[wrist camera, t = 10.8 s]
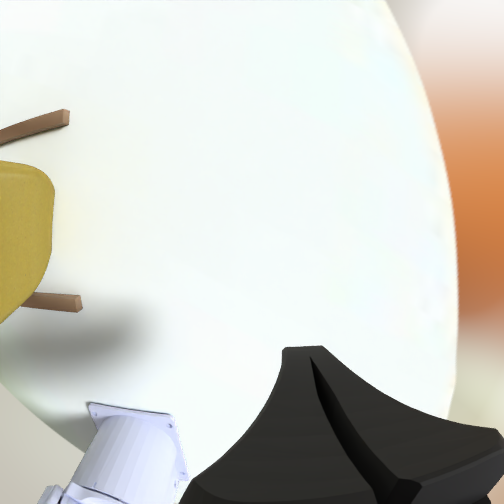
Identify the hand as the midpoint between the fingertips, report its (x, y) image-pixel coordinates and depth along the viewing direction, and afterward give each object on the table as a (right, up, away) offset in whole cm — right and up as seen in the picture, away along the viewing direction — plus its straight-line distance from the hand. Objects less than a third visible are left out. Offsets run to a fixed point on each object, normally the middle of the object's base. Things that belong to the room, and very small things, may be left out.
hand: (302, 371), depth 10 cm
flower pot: (-18, +7, +9) cm, 21 cm away
